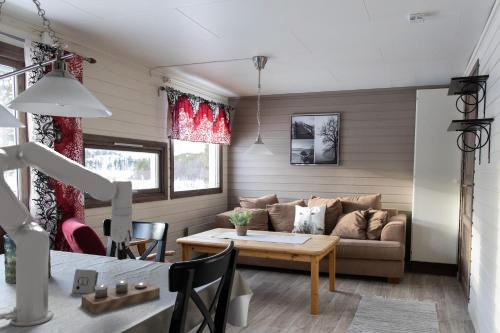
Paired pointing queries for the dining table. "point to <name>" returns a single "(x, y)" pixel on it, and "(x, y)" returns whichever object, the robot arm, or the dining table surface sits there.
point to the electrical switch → (85, 281)
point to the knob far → (140, 285)
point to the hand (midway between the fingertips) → (122, 259)
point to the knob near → (101, 291)
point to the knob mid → (121, 286)
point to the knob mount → (119, 298)
